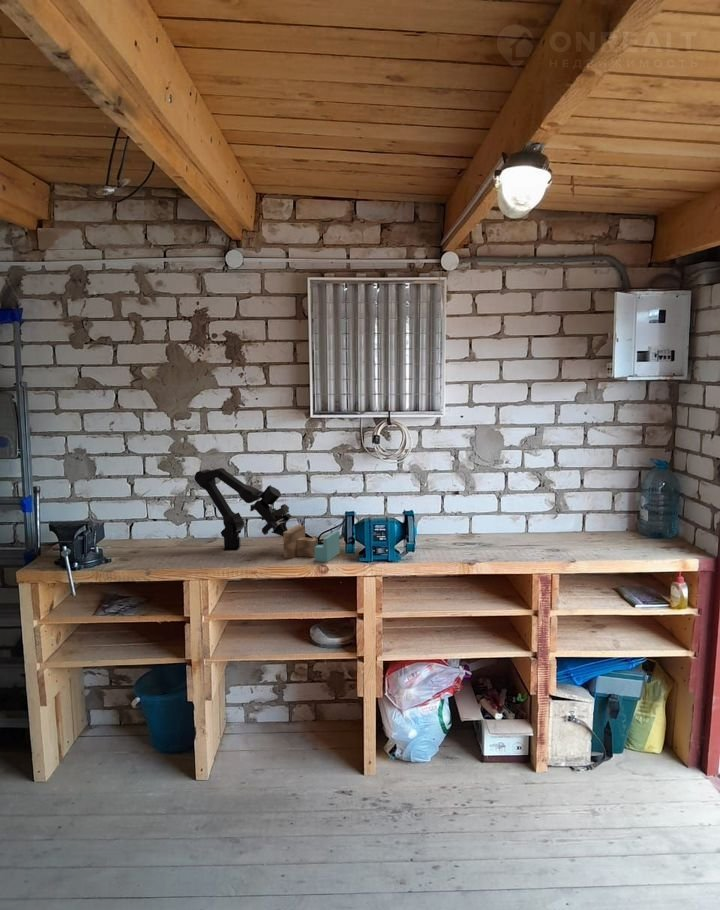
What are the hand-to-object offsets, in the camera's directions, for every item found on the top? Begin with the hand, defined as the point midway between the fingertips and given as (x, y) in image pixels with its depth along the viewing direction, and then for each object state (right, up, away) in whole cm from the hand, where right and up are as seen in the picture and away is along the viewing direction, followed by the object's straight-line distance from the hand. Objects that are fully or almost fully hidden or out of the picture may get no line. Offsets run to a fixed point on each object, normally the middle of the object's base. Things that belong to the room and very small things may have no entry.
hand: (289, 538), depth 275 cm
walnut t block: (+6, -7, -1) cm, 9 cm away
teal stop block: (+17, -7, -5) cm, 19 cm away
